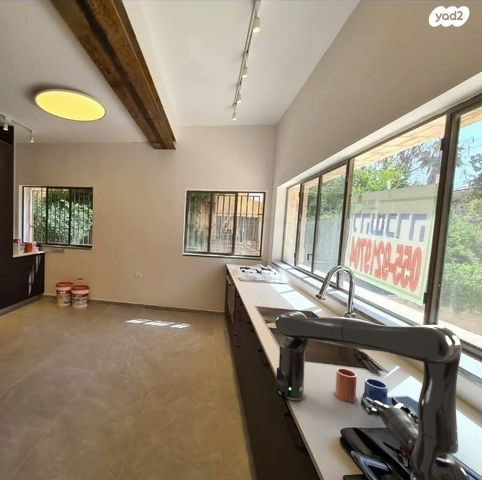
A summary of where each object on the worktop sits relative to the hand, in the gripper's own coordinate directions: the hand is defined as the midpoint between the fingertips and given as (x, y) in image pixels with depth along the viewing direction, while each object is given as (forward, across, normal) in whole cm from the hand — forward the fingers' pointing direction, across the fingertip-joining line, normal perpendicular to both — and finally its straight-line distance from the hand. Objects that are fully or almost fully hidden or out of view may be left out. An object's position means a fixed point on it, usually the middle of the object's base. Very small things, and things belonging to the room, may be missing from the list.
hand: (378, 397), depth 98 cm
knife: (+43, -13, +6) cm, 46 cm away
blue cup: (+2, 0, +6) cm, 6 cm away
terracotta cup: (+7, +8, +6) cm, 12 cm away
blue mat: (+7, -13, +6) cm, 16 cm away
